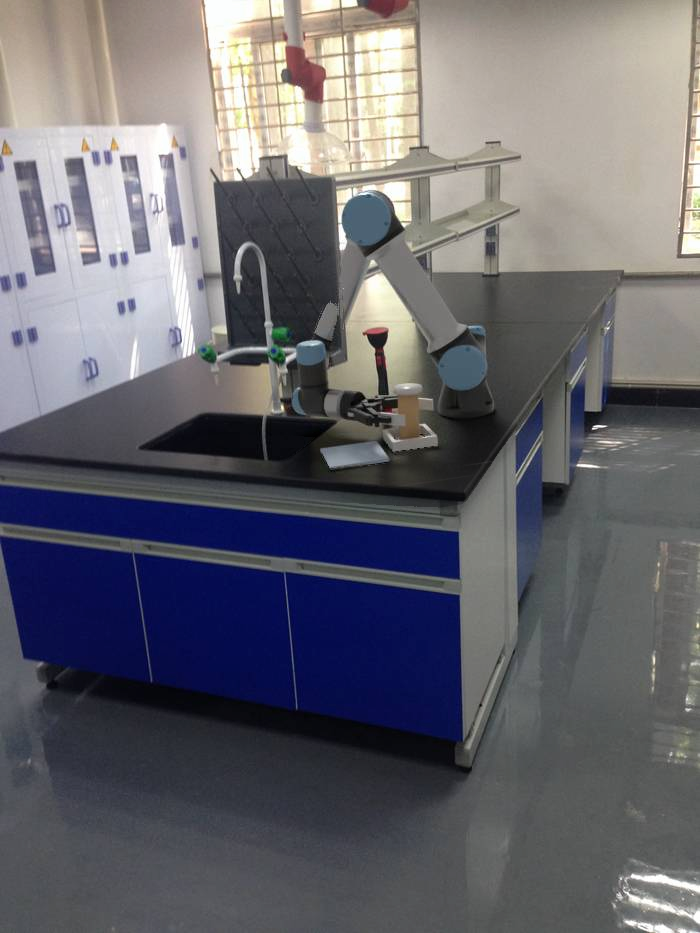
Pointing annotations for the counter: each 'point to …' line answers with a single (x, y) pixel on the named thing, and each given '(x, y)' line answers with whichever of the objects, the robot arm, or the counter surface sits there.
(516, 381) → the counter surface
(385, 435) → the collar
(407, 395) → the spool
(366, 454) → the pad
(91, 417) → the counter surface
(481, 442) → the counter surface
